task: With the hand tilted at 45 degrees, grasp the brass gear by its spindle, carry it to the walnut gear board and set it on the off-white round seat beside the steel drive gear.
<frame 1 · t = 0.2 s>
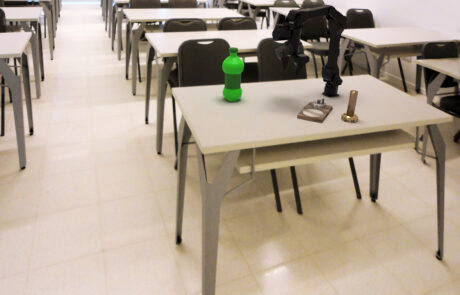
hand: (289, 73, 174), 15 cm above the table, tool pointing down, fingers open, 9 cm apart
plastic bottle: (232, 99, 184), on the table
brass gear: (349, 119, 163), on the table
gear board: (315, 113, 169), on the table
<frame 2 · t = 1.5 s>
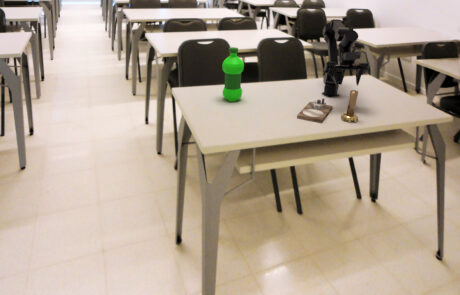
hand: (347, 84, 165), 13 cm above the table, tool tilted 45°, fingers open, 9 cm apart
nothing on the table moved.
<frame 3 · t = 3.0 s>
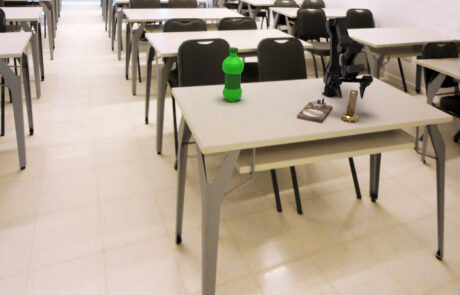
hand: (351, 98, 161), 9 cm above the table, tool tilted 45°, fingers open, 9 cm apart
nothing on the table moved.
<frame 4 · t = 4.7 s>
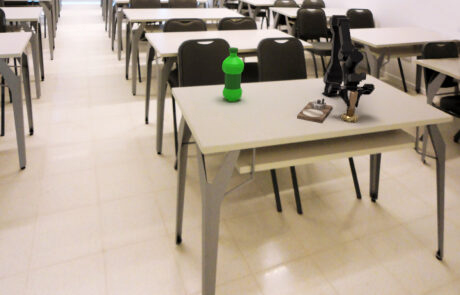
hand: (352, 106, 159), 7 cm above the table, tool tilted 45°, fingers closed on brass gear, 3 cm apart
brass gear: (349, 119, 163), on the table, touching gripper
everything else where it was.
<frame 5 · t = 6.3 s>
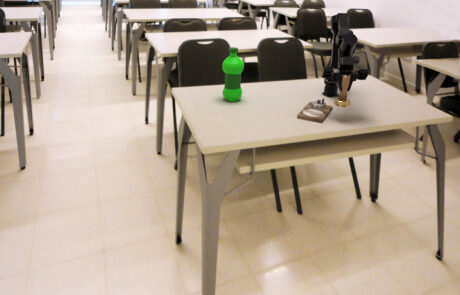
hand: (344, 91, 156), 13 cm above the table, tool tilted 45°, fingers closed on brass gear, 3 cm apart
brass gear: (341, 104, 160), point 7 cm above the table, touching gripper
everything else where it was.
when the fingers open (10 cm above the table, at t = 8.2 s): brass gear drops 1 cm, resting on gear board.
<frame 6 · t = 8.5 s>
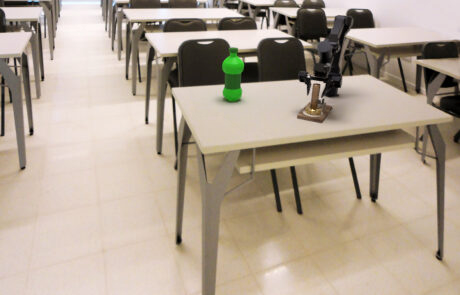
hand: (314, 96, 161), 10 cm above the table, tool tilted 45°, fingers open, 6 cm apart
brass gear: (313, 112, 165), point 2 cm above the table, touching gear board
everything else where it was.
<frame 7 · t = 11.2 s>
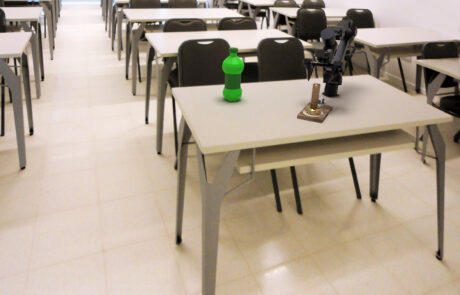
hand: (317, 81, 168), 13 cm above the table, tool tilted 40°, fingers open, 9 cm apart
nothing on the table moved.
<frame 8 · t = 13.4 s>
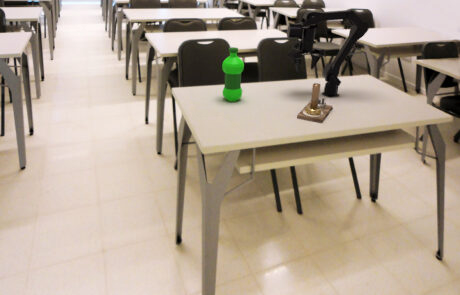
hand: (304, 70, 186), 13 cm above the table, tool pointing down, fingers open, 9 cm apart
nothing on the table moved.
at the end: brass gear 0.1 cm from the target spot on the gear board, point 1.7 cm above the gear board's base; brass gear tilted 0°; the gripper is holding nothing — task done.
